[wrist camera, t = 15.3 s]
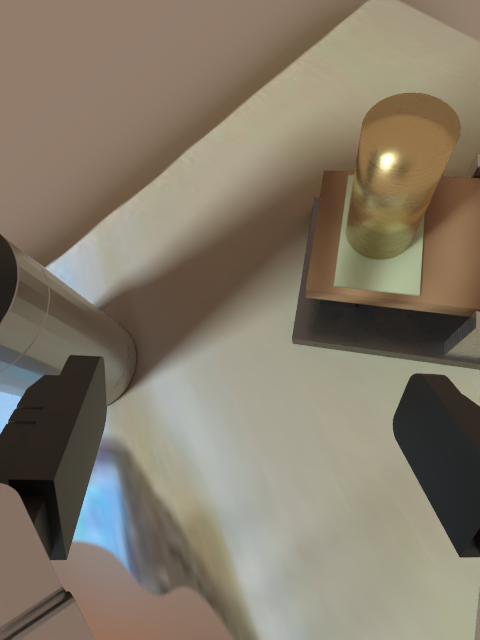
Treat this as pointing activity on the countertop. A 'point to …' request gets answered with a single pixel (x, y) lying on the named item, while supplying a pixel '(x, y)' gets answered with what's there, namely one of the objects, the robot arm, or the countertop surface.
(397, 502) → the countertop surface
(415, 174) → the cylinder
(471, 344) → the pivot stand
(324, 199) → the plank
